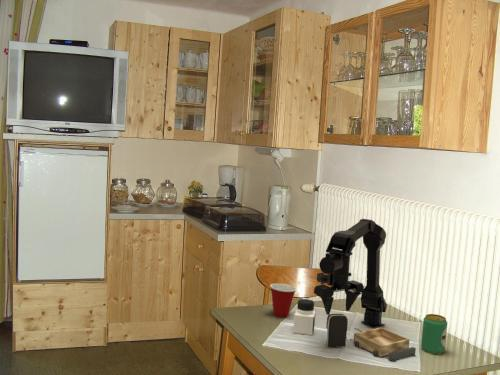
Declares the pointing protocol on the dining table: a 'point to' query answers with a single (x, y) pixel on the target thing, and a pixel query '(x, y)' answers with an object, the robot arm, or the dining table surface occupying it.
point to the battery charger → (336, 330)
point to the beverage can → (434, 334)
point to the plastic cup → (282, 298)
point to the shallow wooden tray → (380, 341)
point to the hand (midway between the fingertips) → (337, 312)
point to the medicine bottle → (304, 317)
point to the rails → (398, 352)
